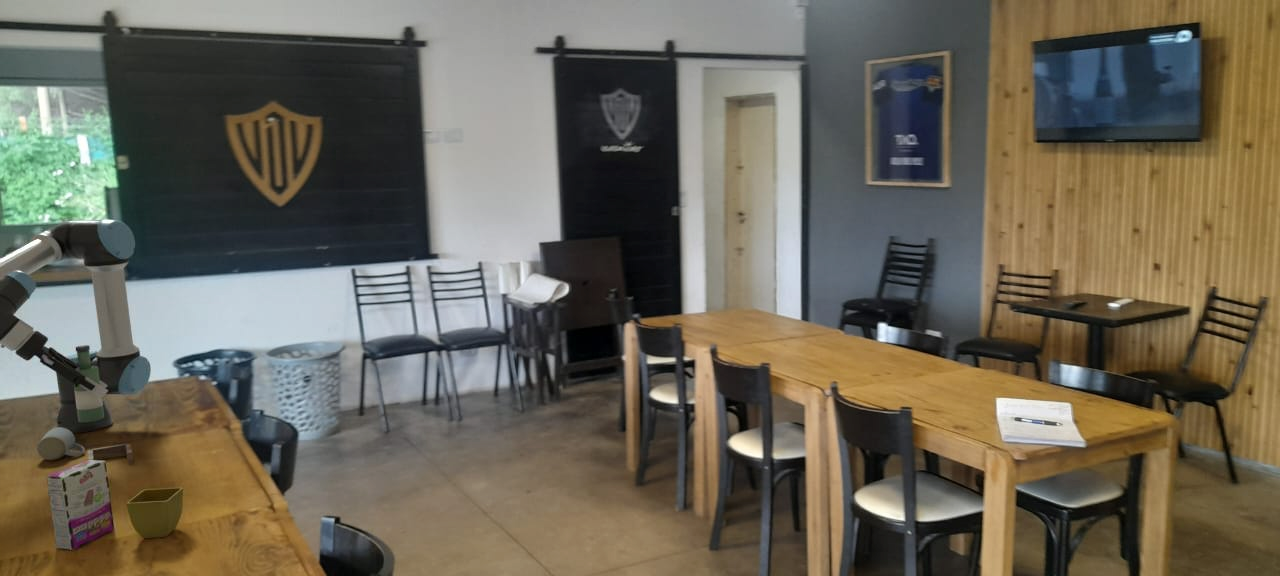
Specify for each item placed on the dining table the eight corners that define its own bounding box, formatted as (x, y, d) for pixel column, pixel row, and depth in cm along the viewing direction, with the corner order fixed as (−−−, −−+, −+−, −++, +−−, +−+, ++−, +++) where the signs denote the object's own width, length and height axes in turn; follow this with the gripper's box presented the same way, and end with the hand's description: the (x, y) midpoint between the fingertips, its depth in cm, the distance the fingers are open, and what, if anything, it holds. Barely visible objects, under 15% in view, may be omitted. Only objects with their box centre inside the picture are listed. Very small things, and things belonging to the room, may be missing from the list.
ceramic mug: (36, 463, 255) (34, 436, 254) (46, 454, 263) (43, 428, 262) (80, 459, 258) (77, 432, 257) (88, 450, 266) (86, 424, 265)
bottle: (86, 415, 253) (77, 344, 250) (108, 415, 253) (100, 343, 250) (73, 422, 247) (64, 349, 244) (96, 422, 247) (87, 348, 244)
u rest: (88, 460, 257) (87, 449, 256) (131, 453, 262) (130, 442, 261) (89, 470, 248) (88, 459, 247) (133, 463, 253) (132, 452, 253)
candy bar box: (97, 528, 208) (89, 458, 206) (115, 530, 207) (107, 460, 204) (54, 549, 197) (45, 475, 195) (72, 551, 196) (63, 477, 194)
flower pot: (147, 526, 208) (143, 488, 207) (187, 524, 209) (183, 486, 208) (129, 543, 200) (125, 503, 198) (171, 540, 200) (167, 501, 199)
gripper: (15, 345, 247) (93, 395, 258) (11, 359, 231) (94, 411, 242) (36, 323, 249) (113, 374, 260) (33, 335, 233) (115, 388, 243)
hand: (104, 392), depth 251 cm, fingers closed on bottle, 6 cm apart
